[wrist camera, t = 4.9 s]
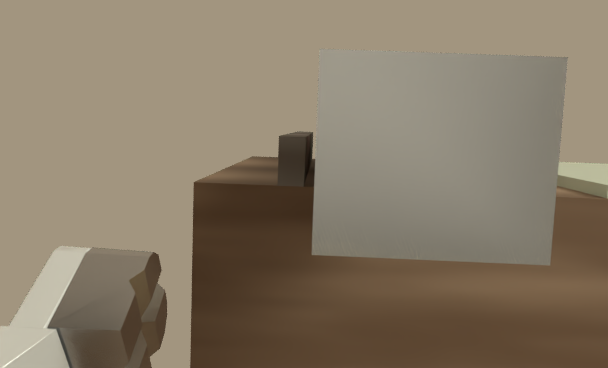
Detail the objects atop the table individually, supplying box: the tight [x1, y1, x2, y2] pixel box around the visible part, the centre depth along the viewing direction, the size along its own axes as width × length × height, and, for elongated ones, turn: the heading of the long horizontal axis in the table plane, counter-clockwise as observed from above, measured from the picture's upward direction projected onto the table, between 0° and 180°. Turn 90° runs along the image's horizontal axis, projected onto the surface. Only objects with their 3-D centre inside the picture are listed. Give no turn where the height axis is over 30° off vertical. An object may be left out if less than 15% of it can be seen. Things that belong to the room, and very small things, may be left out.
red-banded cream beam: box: [312, 49, 568, 265], centre depth 19 cm, size 22×4×3 cm, turn 178°
